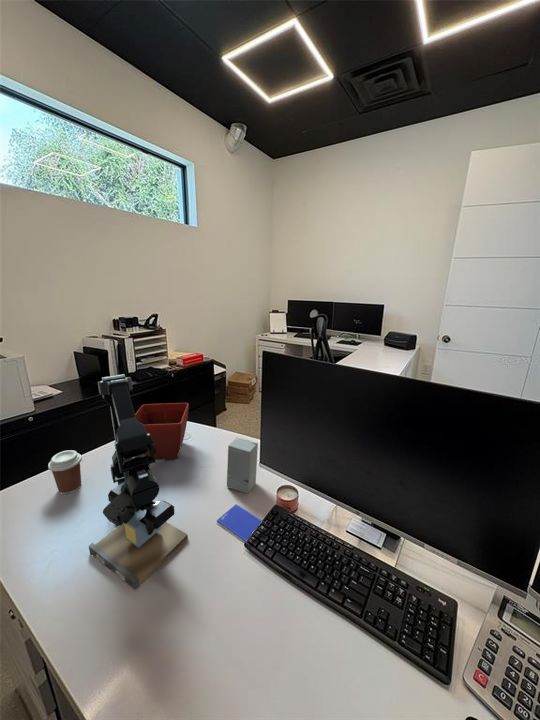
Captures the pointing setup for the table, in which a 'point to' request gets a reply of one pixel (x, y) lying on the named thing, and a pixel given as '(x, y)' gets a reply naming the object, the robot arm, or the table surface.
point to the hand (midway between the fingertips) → (143, 529)
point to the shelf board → (137, 553)
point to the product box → (137, 529)
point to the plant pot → (164, 427)
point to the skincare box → (242, 465)
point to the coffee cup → (66, 471)
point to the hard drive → (239, 522)
